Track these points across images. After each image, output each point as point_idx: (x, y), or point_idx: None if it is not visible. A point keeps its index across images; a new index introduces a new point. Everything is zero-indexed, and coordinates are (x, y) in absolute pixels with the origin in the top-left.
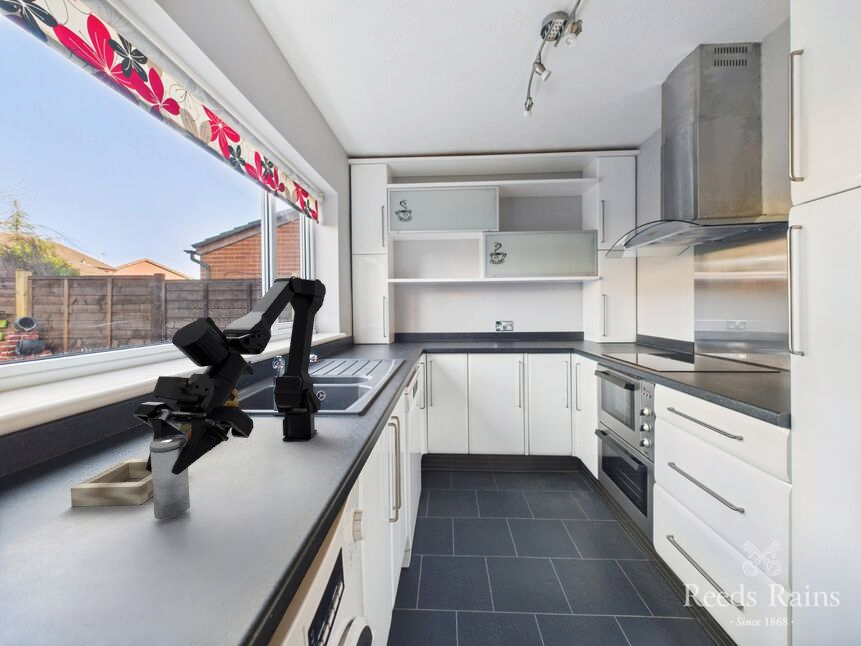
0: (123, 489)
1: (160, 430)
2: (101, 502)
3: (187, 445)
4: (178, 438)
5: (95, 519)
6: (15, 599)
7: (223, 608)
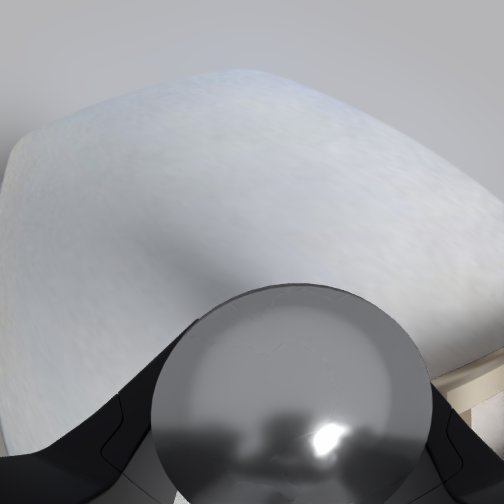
0: (480, 373)
1: (474, 496)
2: (501, 349)
3: (132, 417)
4: (221, 465)
5: (461, 303)
6: (326, 101)
7: (32, 157)
